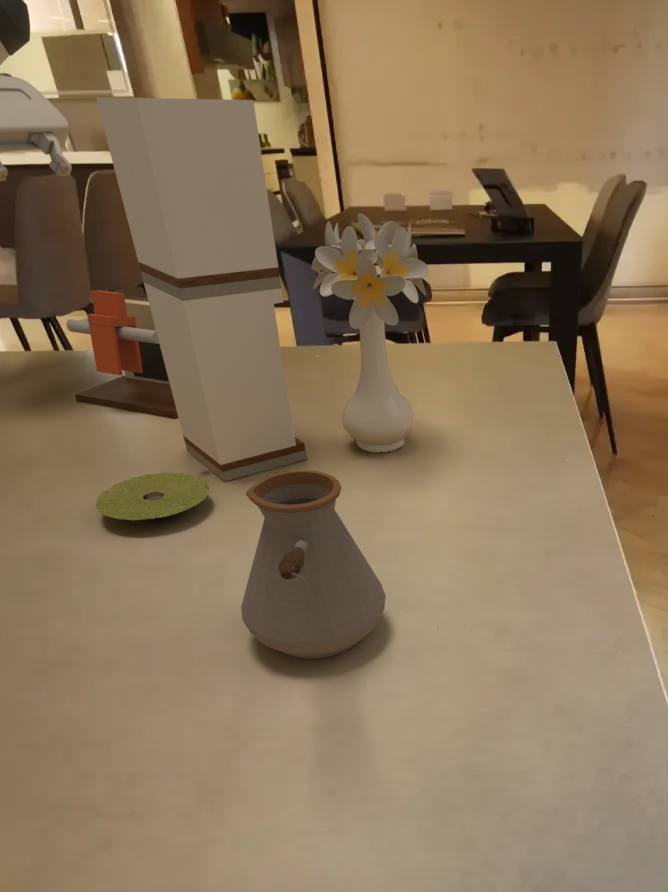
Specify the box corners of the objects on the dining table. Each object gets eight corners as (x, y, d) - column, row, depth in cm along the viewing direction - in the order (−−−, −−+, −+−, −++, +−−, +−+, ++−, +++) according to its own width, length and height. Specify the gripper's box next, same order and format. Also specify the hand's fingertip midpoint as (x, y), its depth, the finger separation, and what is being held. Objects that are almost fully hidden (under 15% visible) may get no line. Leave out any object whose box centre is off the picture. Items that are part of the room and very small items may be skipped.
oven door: (175, 418, 97) (151, 325, 89) (76, 400, 102) (45, 311, 94) (226, 394, 105) (208, 308, 97) (132, 379, 110) (107, 296, 102)
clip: (119, 375, 95) (106, 293, 90) (96, 371, 96) (82, 290, 91) (143, 372, 98) (131, 293, 93) (121, 369, 99) (108, 290, 95)
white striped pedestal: (307, 459, 86) (253, 100, 65) (224, 481, 81) (136, 97, 59) (265, 432, 93) (204, 99, 72) (187, 451, 88) (95, 97, 66)
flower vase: (347, 481, 82) (319, 235, 66) (323, 425, 95) (296, 211, 80) (453, 467, 85) (450, 231, 70) (416, 416, 99) (407, 209, 83)
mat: (220, 485, 80) (216, 469, 79) (204, 532, 71) (200, 515, 70) (116, 491, 79) (111, 474, 77) (87, 539, 70) (81, 522, 69)
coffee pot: (252, 598, 62) (215, 434, 53) (382, 587, 64) (368, 425, 54) (230, 779, 45) (170, 585, 36) (406, 757, 47) (392, 566, 38)
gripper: (11, 97, 93) (93, 188, 96) (-148, 94, 78) (-45, 202, 81) (23, 52, 89) (107, 149, 92) (-142, 40, 74) (-34, 157, 77)
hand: (35, 174), depth 86 cm, fingers open, 8 cm apart
